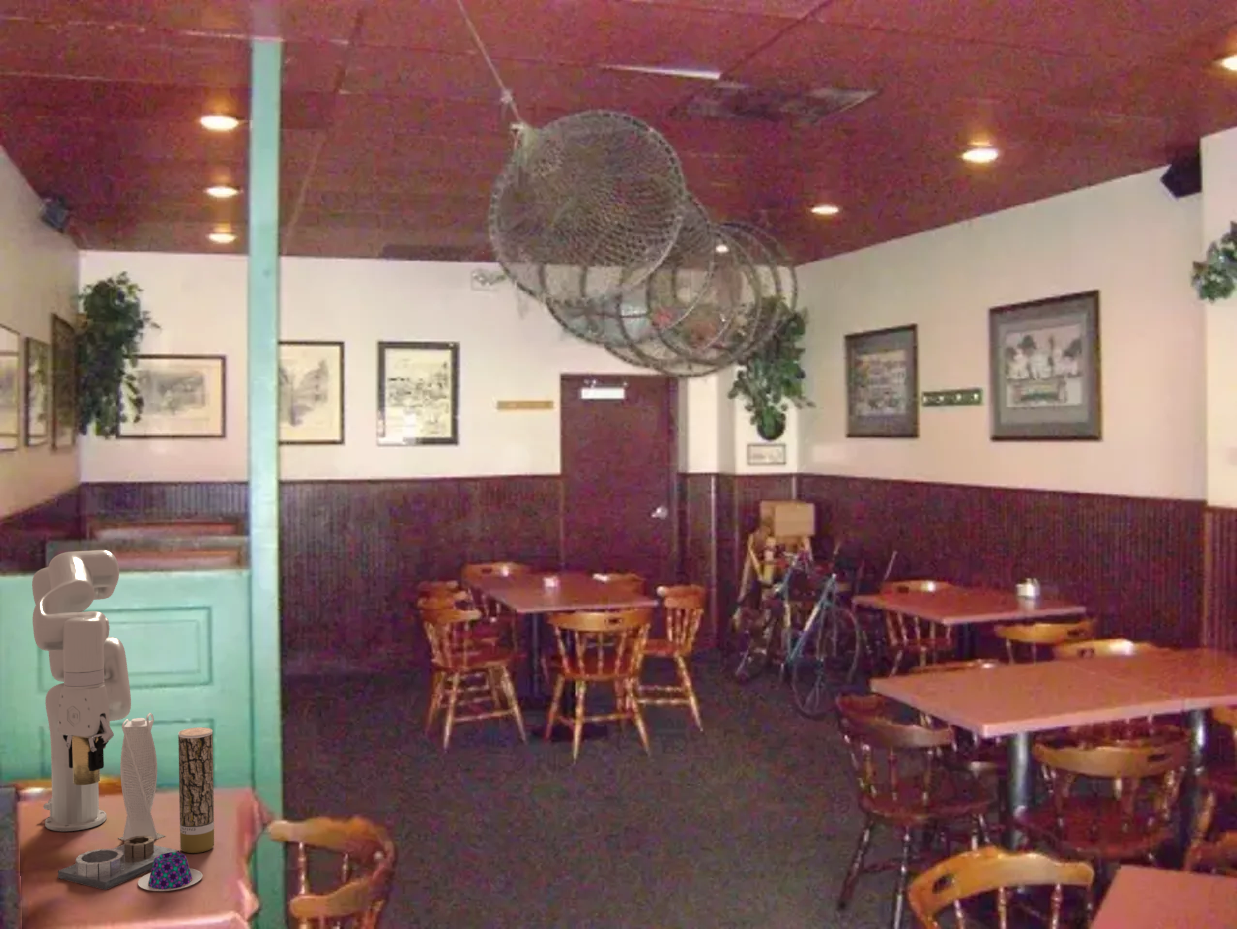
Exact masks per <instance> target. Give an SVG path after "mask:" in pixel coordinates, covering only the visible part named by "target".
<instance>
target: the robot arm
mask: <svg viewBox="0 0 1237 929" xmlns="http://www.w3.org/2000/svg"><path fill="white" fill-rule="evenodd" d="M119 578H120V566H119V563H118V560H117V557H116V556H115V554H114V553H113V552H111V551H109V550H106V549H97V550H80V551H79V550H77V551H65V552H62V553H60V554H59V553H58V554H57V555H55V556H54V557H53V558H52V559H51V560H50V562H49V564H48V566H47V567H44V568H40V569H39V570H37V571H36V572H35V573H34V574H33V576H32V583H31V586H32V588H31V589H32V596H33V600H34V604H35V606H34V608H33V611H32V612H33V613H32V629H33V638H34V641H35V644H36V646H37V647H38V648H39V649H40V650H41V651H42V650H43V651H45V652H48V658H49V668H50V673H51V676H52V677H53V678H54V680H56V681H57V682H60V683H59V684H55V685H54V686H52V687H51V688H50V689H48V691H47V692H46V695H45V703H44V704H45V710H46V716H47V721H48V728H49V736H50V759H51V760H50V766H51V795H52V796H51V798H49V799H48V801H47V802H46V803H44V804H43V810H47V811H49V816H48V817H47V818H46V819H45V820H44V826H45V828H46V829H48V830H50V831H54V832H73V831H74V832H76V831H82V830H87V829H92V828H95V827H97V826H100V825H102V824H103V823H104V822H105V821H106V820H107V812H106V811H104V810H103V809H100V802H99V798H100V797H99V796H100V792H99V782H97V783H94V784H88V785H75V784H73V758H72V736H77V737H83V738H88V739H89V744H90V748H91V751H89V771H95V770H98V769H100V770H101V769H102V770H103V768H104V767H105V761H104V760H105V758H104V755H105V754H104V750H105V749H106V747H107V746H106V745H107V744H108V743H109V741H110V740H112V738H114V731H113V730H112V728H111V726H110V725H111V724H110V722H114V721H120V720H123V719H125V718H127V716H128V715H130V712H131V709H132V698H131V687H130V679H129V671H128V664H127V663H128V662H127V656H126V650H125V647H124V645H123V644H124V643H122V641H121V640H120V639H119V638H116V637H112V636H110V621H109V619H108V618H107V617H106V615H105V614H104V613H103V612H102V611H101V612H100V611H96V610H90V611H85V610H87V609H88V608H89V607H91V605H92V603H93V602H94V600H95V601H98V600H106V599H109V598H110V597H112V596H113V595H114V592H115V589H116V587H117V584H118V582H119ZM61 682H62V683H61ZM96 737H98V741H97V742H95V738H96Z"/></svg>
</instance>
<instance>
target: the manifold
mask: <svg viewBox="0 0 1237 929" xmlns="http://www.w3.org/2000/svg"><path fill="white" fill-rule="evenodd" d="M123 842H124V844H122V845H119V846H115V847H113V848H97V849H93V850H88V851H86V852H84V853H80V854H78V856H76V858H75V864H71V865H69V866H67V867H65V868H64V867H63V868H62V869H59V870H58V871H57V874H58V875H57V879H59V878H60V879H59V880H63V879H65V880H64V881H67V880H68V882H71V881H72V883H76V884H81V885H85V886H89V887H92V888H97V889H100V890H104V891H106V890H108V889H111V888H113V887H116V886H118V885H119V884H122V883H125V882H127V881H129V880H132V879H134V878H136V877H138V876H140V875H143V874H146V873H148V872H151V870H152V866H153V862H154V859H155V858H156V857H158V856H159V855H161V854H166V853H169V852H174V853H175V852H180V850H178V849H173V848H169V847H164V846H160V845H155V840H154V837H151V836H135V837H131V838H129V839H126V840H125V841H123Z"/></svg>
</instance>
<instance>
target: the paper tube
mask: <svg viewBox="0 0 1237 929" xmlns="http://www.w3.org/2000/svg"><path fill="white" fill-rule="evenodd" d="M213 734H214V733H213V729H212V728H210V727H201V726H198V727H189V728H185V729H182V730H181V729H180V730H179V731H178V735H177V736H178V740H177V741H178V742H177V743H178V787H179V788H178V790H179V791H178V793H179V800H178V801H179V832H180V833H179V842H180V844H179V846H180V850H181V851H182V852H183V853H186V854H201V853H204V852H208V851H210V850H211V849H213V848H214V845H215V811H214V810H215V809H214V808H215V804H214V802H215V799H214V795H215V794H214V742H213V741H214V738H213V736H214V735H213Z"/></svg>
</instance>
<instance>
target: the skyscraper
mask: <svg viewBox="0 0 1237 929" xmlns="http://www.w3.org/2000/svg"><path fill="white" fill-rule="evenodd" d="M149 717H150V718H151V720H149ZM154 721H155V718H154V715H153V714H152V712H149V713H148V714H147V715H146V717H145V718H144V717H137V718H136V717H135V718H132V719H131V720H129V718H126V719H125V720H124V721H123V722H122V724H121V729H122V732H123V739H122V743H121V744H122V745H121V746H122V747H121V752H120V754H121V755H120V767H119V768H120V769H119V770H120V785H121V792H122V798H123V803H124V808H125V811H126V812H125V813H126V820H125V824H124V828H123V829H124V830H123V832H122V836H120V837H117V839H118V840H119V839H121V840H120V841H122V840H123V842H125V840H126V839H129V838H131V837H135V836H151V837H154V841H156V840H159V838H160V839H163V838H165V836H166V835H164V834H162V833H159V832H157V829H156V826H155V823H154V820H153V816H152V813H151V812H152V807H153V805H154V800H155V796H156V788H157V780H158V759H157V752H156V747H155V743H154V742H155V741H154V738H153V735H152V729H153V725H154V723H155V722H154ZM162 837H163V838H162Z"/></svg>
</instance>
